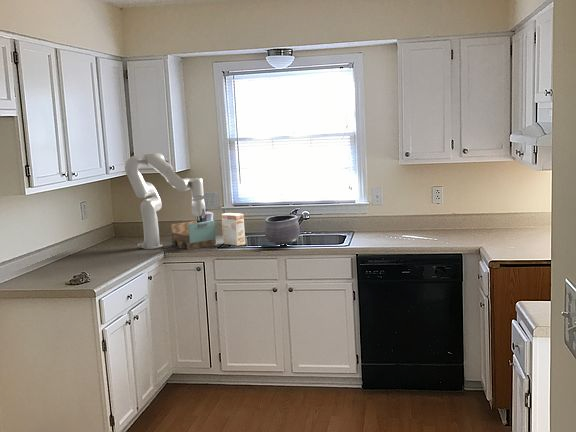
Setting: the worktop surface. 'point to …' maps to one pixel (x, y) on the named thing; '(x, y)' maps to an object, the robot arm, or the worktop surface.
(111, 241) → the worktop surface
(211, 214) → the moka pot
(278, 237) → the tea bowl
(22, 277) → the worktop surface
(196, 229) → the tailgate
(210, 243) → the shelf
